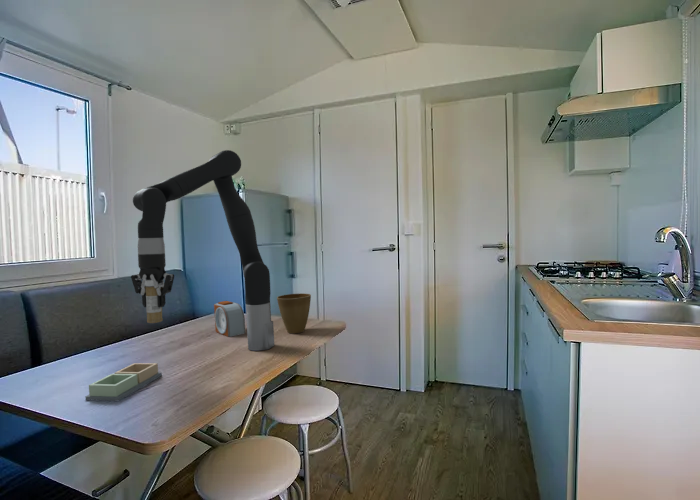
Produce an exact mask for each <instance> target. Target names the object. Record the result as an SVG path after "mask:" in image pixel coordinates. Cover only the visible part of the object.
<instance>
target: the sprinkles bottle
mask: <svg viewBox="0 0 700 500" xmlns="http://www.w3.org/2000/svg"><path fill="white" fill-rule="evenodd" d="M158 285H161V283H159V284H158ZM145 286H146V307H145V308H146V309H145V310H146V322H147V323H148V324H157V323H161V322H163V320H164V318H163V307H158V299H157V296H159V295H158V294H157V291H156V289H155V288H154V284H153V281H152V280H146V281H145Z"/></svg>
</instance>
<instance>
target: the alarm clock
mask: <svg viewBox="0 0 700 500" xmlns="http://www.w3.org/2000/svg"><path fill="white" fill-rule="evenodd" d="M213 310H214V326H215V330H214V331H215V333H216V334H220V335H223V336H225V337H227V338H230V337H231V338H232V337H235V336H238V335H243V334H247V331H246V317H245V313H244V312H245V311H244V310H243V308H242V306H241V304H239V303H237V302H234V301H227V300H223V301H218V302H217V303H214V304H213Z"/></svg>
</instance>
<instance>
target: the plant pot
mask: <svg viewBox="0 0 700 500" xmlns="http://www.w3.org/2000/svg"><path fill="white" fill-rule="evenodd" d="M311 298H312V294H310V293H300V292H299V293H289V294H283V295H278V296H277V297H276V300H277V305H278V309H279V310H278V311H279V313H280V316H281V319H282V322H283V324H284V327H285V329H286V331H287V333H288V334H292V333H293V334H294V335H295V334H301V333H303V331H304V332H305V330H306V326H307V323H308V318H309V314H310V309H311V308H310V307H311Z"/></svg>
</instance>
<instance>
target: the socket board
mask: <svg viewBox="0 0 700 500" xmlns="http://www.w3.org/2000/svg"><path fill="white" fill-rule="evenodd" d="M158 364H159V363H154V362H153V363H151V362H149V363H146V362H145V363H144V362H141V363H139V362H136V363H135V362H134V363H131V364H129V365H128V366H126V367H123V368H122V369H119V370H118V371H115V372H113V373H111V374H109V375H107V376H104V377H103V378H100V379H99V380H97V381H94V382H93V383H90V384H88V392H89V394H88V395H86V396H84V397H85V400H86V401H104V402H105V401H107V402H111V401H112V402H119V401H121V400H122V399H124V398H126V397H128V396H130V395H131V394H133V393H134V392H136V391H138V390H139V389H141V388H143V387H145V386H146V385H148V384H150V383H151V382H153V381H155V380H157V379H158V378H160V377H161V376H163V375H162V374H163V373H162V372H161V371H160V372H159V365H158Z"/></svg>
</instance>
